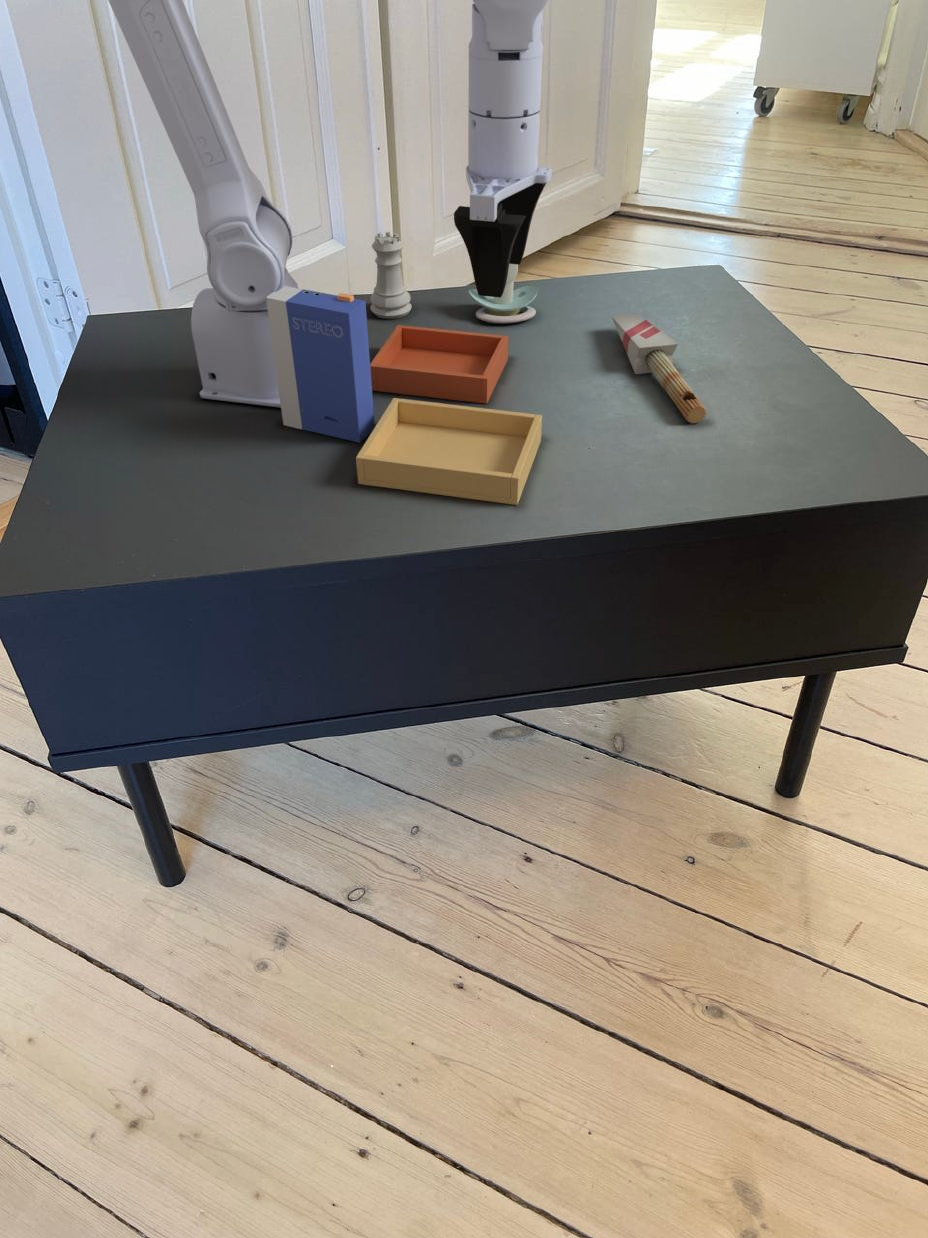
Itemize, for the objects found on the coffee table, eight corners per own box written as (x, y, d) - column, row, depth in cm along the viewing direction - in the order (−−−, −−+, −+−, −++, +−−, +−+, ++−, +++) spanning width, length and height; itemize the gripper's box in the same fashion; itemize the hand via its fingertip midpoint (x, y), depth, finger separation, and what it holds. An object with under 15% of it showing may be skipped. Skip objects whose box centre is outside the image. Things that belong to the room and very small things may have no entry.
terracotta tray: (370, 390, 91) (368, 365, 89) (398, 348, 98) (397, 324, 96) (487, 403, 89) (487, 378, 87) (507, 359, 96) (508, 335, 94)
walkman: (375, 428, 86) (365, 295, 78) (359, 443, 84) (348, 308, 76) (299, 410, 88) (282, 280, 80) (282, 424, 86) (263, 292, 78)
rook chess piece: (406, 321, 102) (402, 245, 97) (365, 318, 103) (359, 242, 98) (416, 304, 106) (413, 229, 101) (376, 301, 106) (371, 227, 101)
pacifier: (543, 325, 102) (532, 300, 106) (546, 266, 98) (535, 243, 102) (474, 329, 101) (466, 304, 106) (474, 270, 97) (466, 247, 101)
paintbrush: (644, 298, 99) (718, 399, 85) (640, 324, 101) (713, 426, 86) (608, 301, 98) (676, 403, 84) (605, 327, 100) (671, 431, 86)
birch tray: (358, 484, 79) (355, 457, 77) (394, 422, 86) (393, 397, 85) (517, 505, 76) (518, 478, 75) (541, 440, 84) (542, 414, 82)
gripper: (535, 137, 71) (528, 315, 80) (569, 90, 82) (559, 252, 91) (443, 130, 72) (445, 306, 81) (487, 86, 83) (485, 246, 92)
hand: (500, 278), depth 86 cm, fingers open, 7 cm apart
